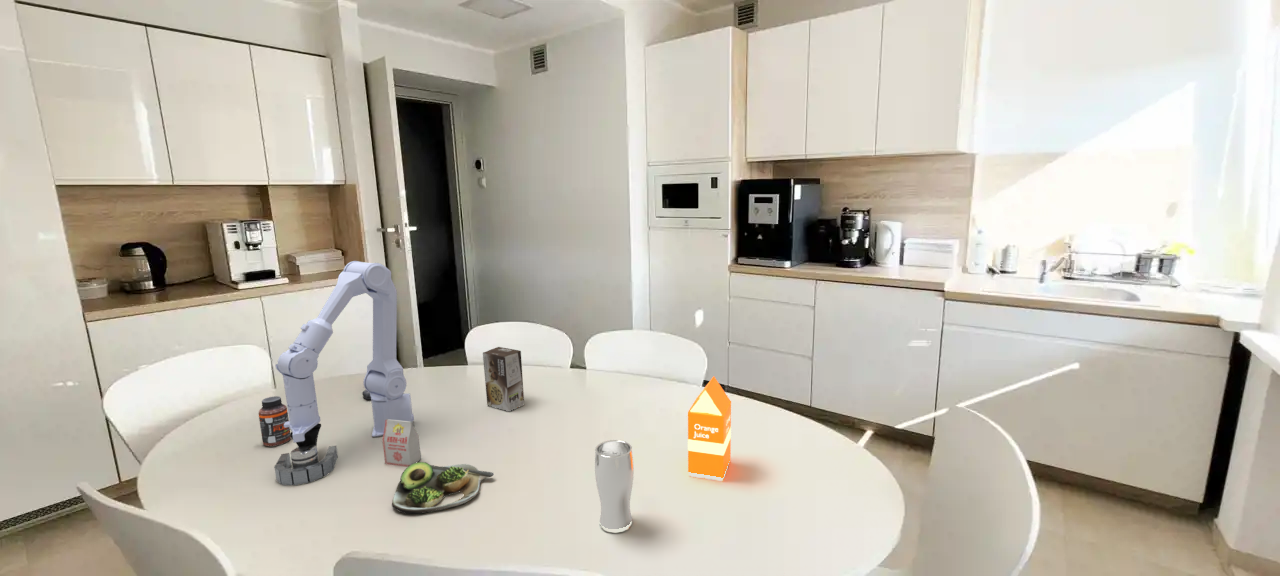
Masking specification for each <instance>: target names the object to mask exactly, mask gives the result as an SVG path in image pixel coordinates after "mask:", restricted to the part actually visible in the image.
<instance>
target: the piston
mask: <svg viewBox="0 0 1280 576" xmlns="http://www.w3.org/2000/svg"><path fill="white" fill-rule="evenodd" d="M317 446H318V445H317ZM317 446H315V445H305V446H301V447H298V446H297V447H296V448H294V449H292V450H291V451H290V461H291V466H292V469H298V468H304V467H308V466H311V465H314V464H316V463H318V462H320V460H319V454H318V453H319V452H318V447H317Z"/></svg>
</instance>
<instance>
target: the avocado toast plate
mask: <svg viewBox="0 0 1280 576" xmlns="http://www.w3.org/2000/svg"><path fill="white" fill-rule="evenodd" d="M493 476H494V472H493V471H492V472H491V471H483V470H479V469H478V468H477V467H476V466H475V465H471V464H467V463H460V464H452V465H446V466H445V465H444V466H440V465H439V466H438V465H433V464H429V463H428V462H424V461H418V462H417V463H414V464H412V465H410V466H406V468H405V469H404V470H403V471H402V473H401V475H400V481H399V482H398V483H397V486H396V489H395V493H394V496H393V498H392V501H391V507H392V508H393V509H395V510H396V511H397V512H399V511H400V512H399V513H403V514H405V513H406V515H407V514H409V515H418V514H419V515H420V514H424V513H431V511H432V512H436V511H437V512H438V511H441V510H446V509H449V508H453V507H457V506H461V505H464V504H465V503H467V502H469V501H471V500H472V499H473V498H475V497H476V496H477V495H478V493H479V490H480V487H481V486H480V485H481V482H482V481H483V480H485V479H488V478H492V477H493ZM459 491H460V492H459ZM452 493H453V494H454V493H456V494H458V493H461V494H462V495H463V494H464V496H461V499H460V498H459V499H457V500H455V501H452V502H449V503H447V504H443V505H439V506H437V505H438V504H439V503H440V502H441V501H442V498H443V497H444V496H445V497H447V496H450V495H453V494H452ZM449 494H450V495H449ZM445 497H444V498H445ZM444 498H443V499H444ZM440 500H441V501H440ZM439 501H440V502H439ZM438 502H439V503H438ZM437 503H438V504H437ZM463 503H464V504H463Z"/></svg>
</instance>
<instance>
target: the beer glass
mask: <svg viewBox="0 0 1280 576" xmlns="http://www.w3.org/2000/svg"><path fill="white" fill-rule="evenodd" d="M594 451H595V455H594V476H595V478H594V479H595V482H596V488H597V493H598V497H599V501H600V516H599V522H600V523H601V525H602V526H604V527H605V528H608V529H619V528H623V527H626V526H627V525H629V524H630V522H631V521H632V522H633V516H632V513H631V512H632V511H631V495H632V490H633V484H634V482H633V481H634V459H633V458H634V457H633V446H632V444H630V443H629V442H627V441H624V440H621V439H620V440H618V439H613V440H612V439H610V440H606V441H602V442H600V443H599V444H597V445H596V447H595V449H594Z"/></svg>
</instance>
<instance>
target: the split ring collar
mask: <svg viewBox="0 0 1280 576" xmlns="http://www.w3.org/2000/svg"><path fill="white" fill-rule="evenodd" d="M338 458H339V457H338V448H337V445H331V446H328V449H327V451H326V453H325V456H324V458H323V459H321V460H319V462H318V463H316V464H314V465H311V466H308V467H304V468H298V469H293V468H291V466H292V460H291V453H290V452H286V453H281V454H280V456H279V459H278V460H277V462H276V464H275V465H274V473H275V474H274V475H275V479H276V480H277V482H278V484H280V485H282V486H291V485H293V486H299V485H298V484H300V485H303V483H306V484H309V483H312V481H313V482H315V481H318V480H320V479H323V478H324V477H323V476H325V477H326V476H328V475H329V474H330V473H332V472H333V471H335V466H336V464H337V461H338ZM328 473H329V474H328ZM327 474H328V475H327ZM322 477H323V478H322ZM319 478H320V479H319ZM317 479H318V480H317ZM276 480H275V481H276ZM314 480H315V481H314Z"/></svg>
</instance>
